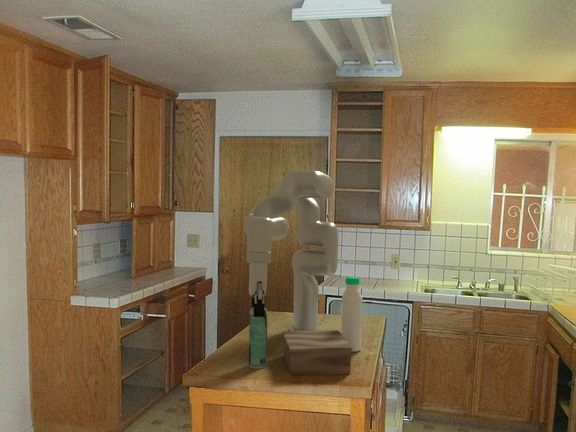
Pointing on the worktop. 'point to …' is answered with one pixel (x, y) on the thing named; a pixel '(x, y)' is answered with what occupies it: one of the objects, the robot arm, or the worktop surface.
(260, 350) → the spray can
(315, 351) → the brown wooden block
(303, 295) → the robot arm
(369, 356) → the worktop surface
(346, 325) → the water bottle
